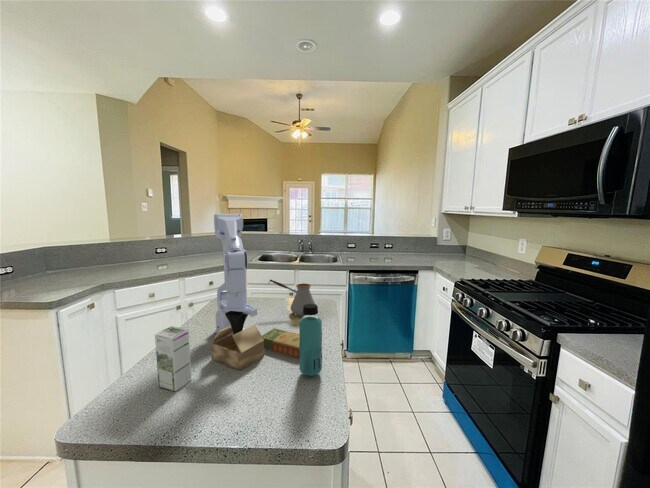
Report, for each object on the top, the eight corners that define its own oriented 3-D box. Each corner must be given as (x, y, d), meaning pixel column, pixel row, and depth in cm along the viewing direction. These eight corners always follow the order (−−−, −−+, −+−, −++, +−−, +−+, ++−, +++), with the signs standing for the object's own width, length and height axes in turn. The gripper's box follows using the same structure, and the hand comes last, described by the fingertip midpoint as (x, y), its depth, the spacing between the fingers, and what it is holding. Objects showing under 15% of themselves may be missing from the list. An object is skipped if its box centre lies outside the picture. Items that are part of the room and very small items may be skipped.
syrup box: (192, 379, 77) (190, 328, 75) (174, 392, 71) (171, 337, 70) (176, 375, 79) (173, 325, 77) (157, 387, 73) (153, 333, 71)
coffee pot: (317, 309, 131) (318, 277, 130) (314, 319, 120) (314, 284, 118) (272, 307, 133) (272, 276, 132) (265, 316, 122) (264, 282, 120)
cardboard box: (211, 359, 87) (211, 343, 87) (237, 346, 96) (236, 331, 95) (240, 370, 81) (239, 354, 81) (264, 355, 90) (263, 340, 89)
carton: (299, 360, 88) (299, 347, 87) (258, 348, 95) (258, 336, 95) (312, 348, 95) (312, 336, 95) (274, 338, 103) (273, 327, 102)
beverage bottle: (313, 384, 75) (314, 311, 73) (293, 376, 79) (293, 306, 76) (326, 372, 81) (327, 304, 79) (307, 365, 84) (307, 299, 82)
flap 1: (212, 342, 87) (211, 341, 87) (235, 332, 95) (234, 330, 95) (220, 331, 85) (219, 330, 85) (242, 321, 92) (241, 320, 93)
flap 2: (231, 335, 82) (232, 335, 82) (254, 325, 90) (255, 324, 90) (241, 353, 81) (242, 352, 81) (263, 340, 89) (264, 340, 88)
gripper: (209, 290, 86) (211, 333, 88) (244, 298, 79) (245, 345, 80) (227, 285, 92) (229, 325, 94) (261, 292, 85) (262, 335, 87)
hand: (237, 334), depth 88 cm, fingers closed
